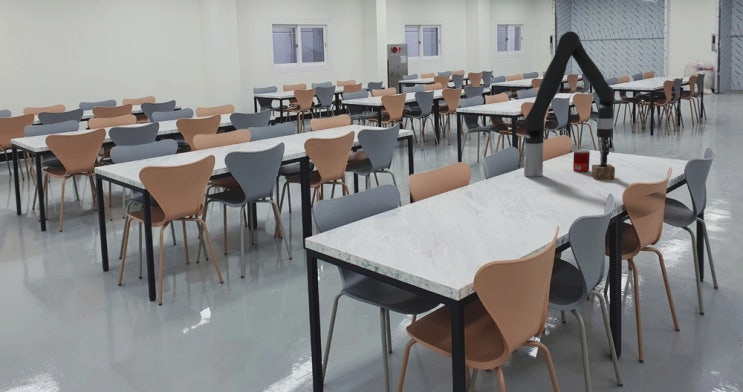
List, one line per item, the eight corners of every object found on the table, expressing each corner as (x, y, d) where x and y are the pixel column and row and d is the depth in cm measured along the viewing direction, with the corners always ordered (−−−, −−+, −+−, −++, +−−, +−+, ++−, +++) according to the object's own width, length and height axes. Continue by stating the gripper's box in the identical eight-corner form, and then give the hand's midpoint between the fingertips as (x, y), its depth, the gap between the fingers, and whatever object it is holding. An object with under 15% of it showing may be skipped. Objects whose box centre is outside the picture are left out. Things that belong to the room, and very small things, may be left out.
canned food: (590, 172, 341) (591, 151, 338) (575, 172, 341) (576, 152, 338) (586, 169, 348) (587, 149, 345) (571, 170, 348) (572, 149, 346)
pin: (601, 170, 323) (601, 146, 321) (599, 169, 326) (600, 145, 324) (607, 170, 323) (608, 146, 320) (605, 169, 326) (606, 145, 323)
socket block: (595, 179, 322) (596, 167, 320) (591, 176, 331) (592, 164, 329) (614, 179, 321) (614, 167, 319) (609, 175, 329) (610, 164, 328)
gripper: (594, 125, 327) (592, 159, 331) (600, 129, 314) (599, 164, 317) (609, 125, 326) (608, 159, 330) (616, 128, 313) (614, 164, 317)
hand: (603, 161), depth 324 cm, fingers closed on pin, 3 cm apart
